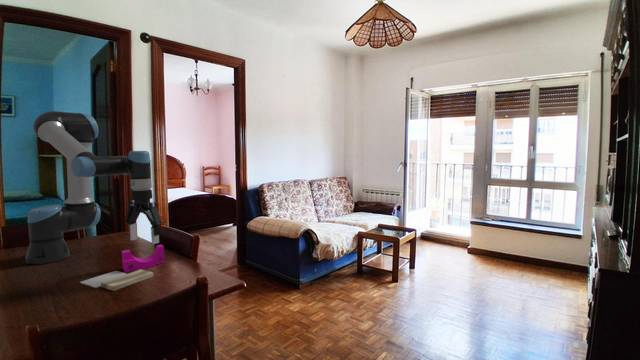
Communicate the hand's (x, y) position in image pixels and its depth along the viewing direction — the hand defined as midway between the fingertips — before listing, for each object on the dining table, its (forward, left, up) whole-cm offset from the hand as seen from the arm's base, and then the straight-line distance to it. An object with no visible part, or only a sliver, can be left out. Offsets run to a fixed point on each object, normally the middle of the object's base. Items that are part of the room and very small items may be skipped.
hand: (144, 241), depth 137 cm
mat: (-1, -15, -11) cm, 18 cm away
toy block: (-1, +1, -11) cm, 11 cm away
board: (+8, -12, -11) cm, 18 cm away
